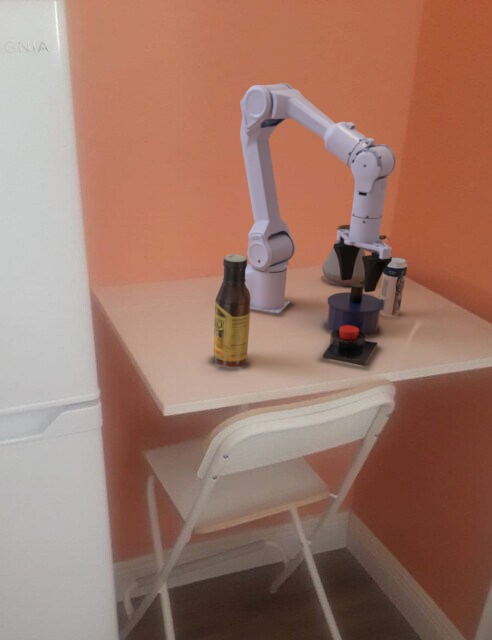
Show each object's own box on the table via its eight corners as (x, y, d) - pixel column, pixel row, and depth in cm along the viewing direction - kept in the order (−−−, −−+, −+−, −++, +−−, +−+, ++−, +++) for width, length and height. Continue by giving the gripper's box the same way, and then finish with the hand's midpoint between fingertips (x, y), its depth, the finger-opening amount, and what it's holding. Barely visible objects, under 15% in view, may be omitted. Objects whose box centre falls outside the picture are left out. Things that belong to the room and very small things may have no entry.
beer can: (399, 319, 151) (408, 264, 145) (376, 316, 151) (385, 262, 145) (398, 311, 155) (407, 257, 149) (376, 309, 155) (384, 255, 149)
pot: (320, 332, 143) (323, 307, 140) (334, 316, 151) (337, 292, 148) (370, 341, 139) (374, 316, 137) (381, 324, 148) (385, 300, 145)
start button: (355, 342, 133) (356, 333, 132) (336, 338, 134) (337, 330, 133) (359, 335, 135) (361, 327, 135) (341, 332, 137) (342, 323, 136)
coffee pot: (312, 275, 175) (319, 214, 167) (353, 272, 178) (361, 211, 170) (354, 304, 158) (363, 238, 150) (398, 300, 161) (409, 234, 153)
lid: (320, 310, 140) (322, 289, 138) (335, 294, 149) (337, 273, 147) (375, 320, 136) (379, 298, 134) (387, 302, 145) (391, 281, 143)
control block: (364, 368, 129) (367, 353, 127) (320, 359, 131) (321, 345, 130) (377, 348, 137) (379, 334, 135) (334, 340, 140) (336, 326, 138)
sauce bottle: (211, 355, 132) (214, 250, 122) (244, 355, 132) (250, 250, 122) (214, 370, 126) (218, 262, 116) (249, 370, 127) (255, 262, 117)
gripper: (327, 208, 136) (320, 276, 143) (373, 226, 125) (363, 299, 131) (356, 205, 138) (348, 272, 145) (405, 222, 127) (393, 294, 134)
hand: (357, 285), depth 139 cm, fingers open, 7 cm apart
